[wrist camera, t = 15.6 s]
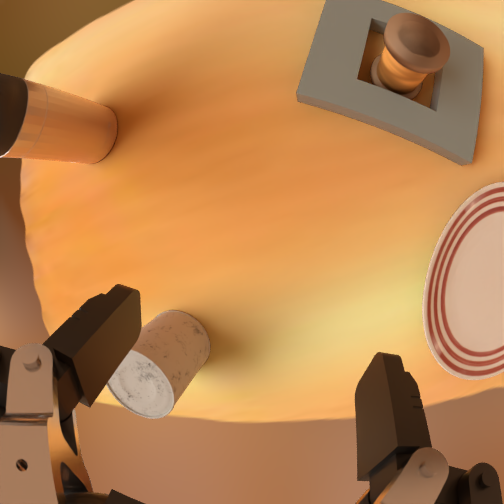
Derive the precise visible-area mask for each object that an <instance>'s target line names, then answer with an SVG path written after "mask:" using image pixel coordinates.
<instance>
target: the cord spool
mask: <svg viewBox="0 0 504 504" xmlns="http://www.w3.org/2000/svg"><path fill="white" fill-rule="evenodd" d="M384 43H385V48H384V50H383V53H382V54H381V55H379V56H378V57H376V58H375V60H374V61H373V64H372V66H371V69H370V79H371V83H372V85H375V86H378V87H381V88H383V89H386V90H388V91H391V92H393V93H396V94H398V95H401V96H403V97H405V98H408V99H410V100H412V99H413V98H414V97H415V96H416V95H417V94H418V93H419V92H420V90H421V88H422V81H423V79H424V78H425V77H426V76H427V75H428V74H431V73H435V72H437V71H438V70H440V69H441V68H442V67H443V66H444V65H445V63H446V62H447V61H448V59H449V57H450V46H449V42H448V40H447V38H446V36H445V35H444V33H443V32H442V31H441V30H440V29H439V28H438V27H437V26H436V25H435V24H434V23H433V22H431V21H430V20H428V19H427V18H425V17H422V16H420V15H417V14H413V13H399V14H396V15H394V16H392V17H391V18H390V19H389V21H388V23H387V25H386V28H385V31H384Z"/></svg>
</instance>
